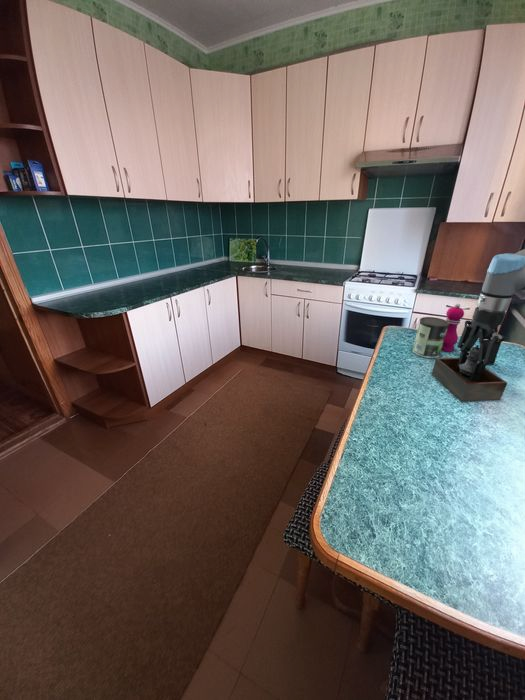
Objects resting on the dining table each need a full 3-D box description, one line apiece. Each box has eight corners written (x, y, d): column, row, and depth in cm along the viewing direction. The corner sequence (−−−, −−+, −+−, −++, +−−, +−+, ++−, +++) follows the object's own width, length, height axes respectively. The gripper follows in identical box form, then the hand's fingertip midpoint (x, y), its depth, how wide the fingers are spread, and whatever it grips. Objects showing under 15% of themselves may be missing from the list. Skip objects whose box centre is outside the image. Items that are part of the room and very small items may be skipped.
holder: (464, 372, 107) (470, 357, 104) (500, 400, 92) (507, 382, 89) (431, 374, 106) (436, 358, 103) (461, 401, 91) (467, 384, 88)
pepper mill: (434, 349, 124) (446, 304, 115) (436, 343, 129) (448, 300, 120) (453, 353, 120) (468, 307, 111) (455, 347, 125) (469, 302, 116)
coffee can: (442, 352, 122) (452, 320, 115) (435, 361, 115) (445, 328, 108) (416, 345, 128) (424, 314, 121) (408, 353, 121) (416, 321, 115)
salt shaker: (453, 371, 100) (463, 340, 95) (472, 373, 99) (484, 341, 94) (460, 380, 95) (471, 348, 90) (480, 382, 94) (492, 349, 89)
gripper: (458, 299, 95) (439, 361, 105) (503, 320, 78) (476, 391, 88) (480, 299, 95) (459, 360, 105) (530, 319, 78) (499, 390, 89)
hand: (467, 374), depth 97 cm, fingers closed on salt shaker, 6 cm apart
